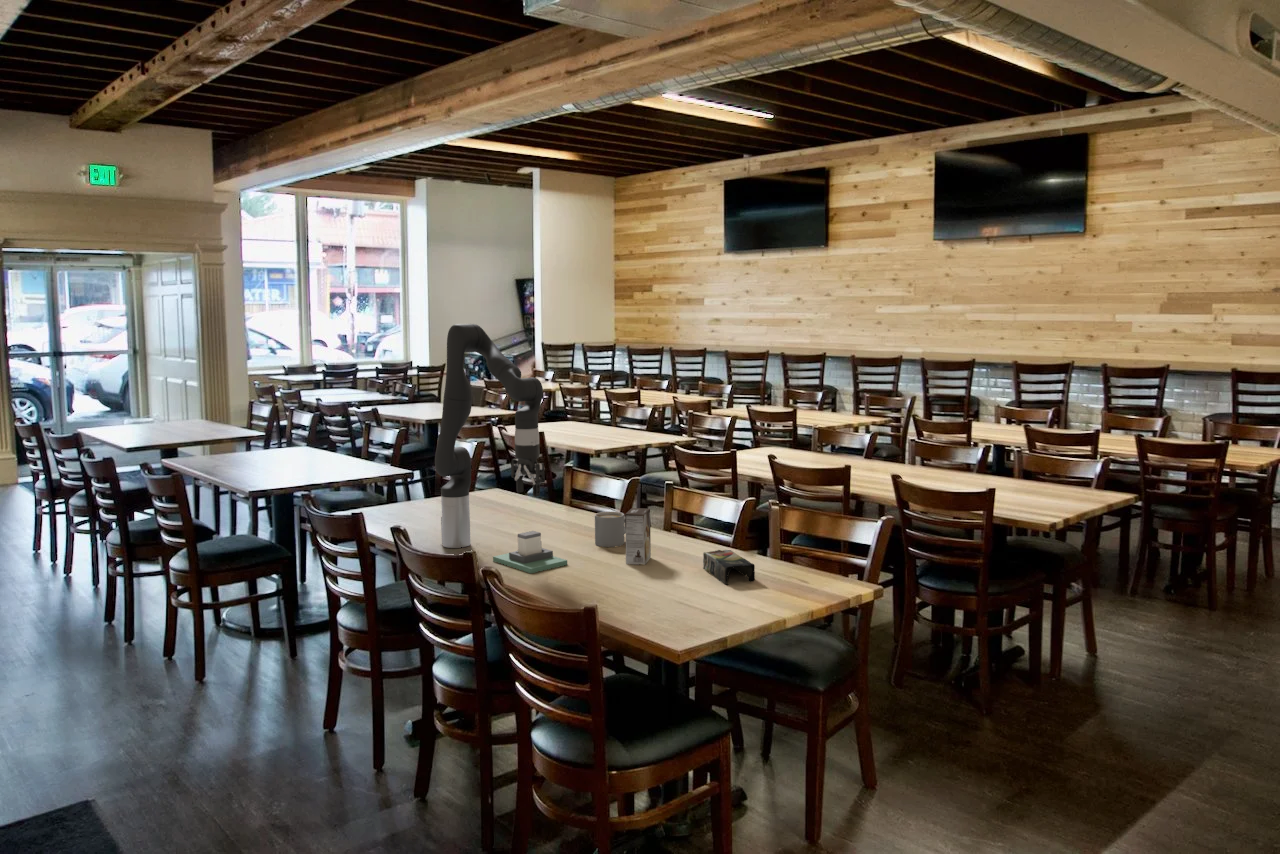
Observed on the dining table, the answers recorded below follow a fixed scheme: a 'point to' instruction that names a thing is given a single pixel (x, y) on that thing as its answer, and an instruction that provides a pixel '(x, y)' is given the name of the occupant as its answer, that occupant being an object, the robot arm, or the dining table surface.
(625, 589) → the dining table surface
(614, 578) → the dining table surface
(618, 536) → the coffee mug
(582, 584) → the dining table surface
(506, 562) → the header board
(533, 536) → the plug
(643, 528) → the coffee box
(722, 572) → the juice carton
